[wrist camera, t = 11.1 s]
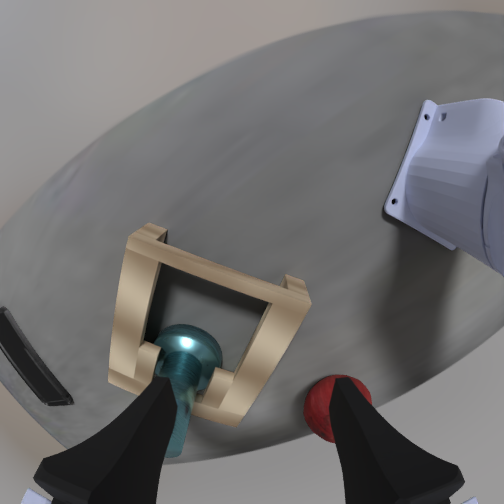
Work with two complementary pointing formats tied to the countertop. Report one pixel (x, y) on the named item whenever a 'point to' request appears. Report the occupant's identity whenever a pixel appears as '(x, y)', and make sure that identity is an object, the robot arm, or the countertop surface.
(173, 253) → the beige wooden frame
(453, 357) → the countertop surface
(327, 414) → the onion
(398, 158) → the countertop surface
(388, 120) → the countertop surface
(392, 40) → the countertop surface
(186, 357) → the peg
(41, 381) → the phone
